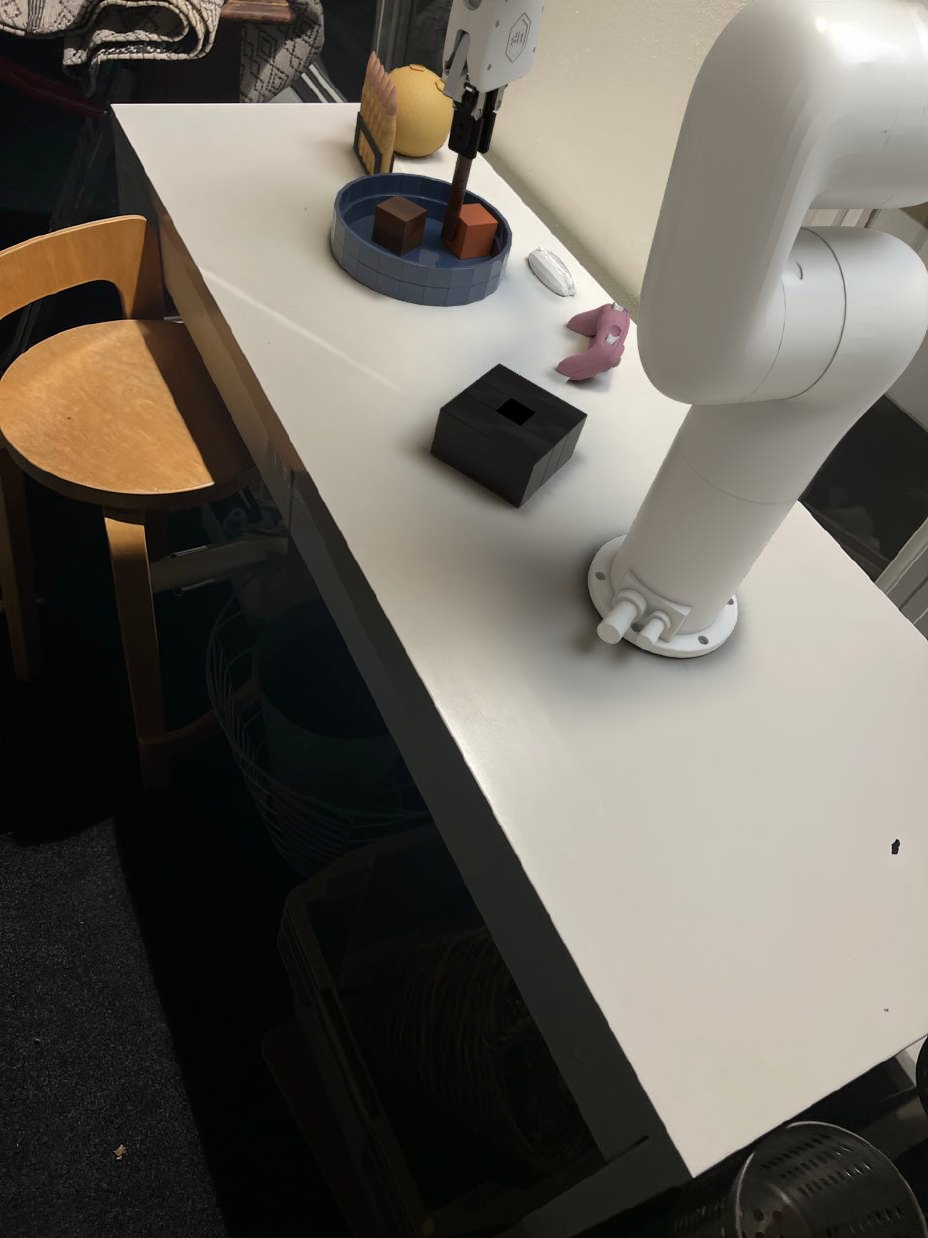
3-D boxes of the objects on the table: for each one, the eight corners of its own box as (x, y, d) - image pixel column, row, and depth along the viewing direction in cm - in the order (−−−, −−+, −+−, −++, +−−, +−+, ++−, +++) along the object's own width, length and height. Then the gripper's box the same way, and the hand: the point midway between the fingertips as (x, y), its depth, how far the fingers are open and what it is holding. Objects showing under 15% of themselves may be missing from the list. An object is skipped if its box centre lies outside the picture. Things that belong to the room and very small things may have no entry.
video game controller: (583, 402, 92) (634, 359, 87) (551, 373, 90) (601, 329, 86) (594, 349, 98) (641, 307, 94) (563, 322, 97) (610, 278, 92)
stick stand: (519, 508, 78) (534, 465, 74) (429, 452, 80) (439, 408, 76) (571, 456, 84) (588, 414, 80) (486, 406, 86) (499, 362, 82)
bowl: (438, 335, 91) (447, 291, 88) (293, 250, 96) (296, 205, 92) (532, 271, 103) (543, 230, 99) (399, 198, 107) (405, 156, 103)
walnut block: (400, 256, 98) (406, 221, 95) (371, 240, 99) (375, 204, 95) (421, 244, 100) (427, 210, 97) (392, 228, 101) (398, 193, 98)
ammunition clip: (389, 198, 107) (405, 90, 98) (374, 197, 106) (388, 89, 97) (366, 153, 113) (379, 47, 103) (352, 152, 112) (363, 46, 103)
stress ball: (445, 178, 113) (462, 93, 105) (367, 163, 111) (378, 75, 103) (444, 142, 119) (459, 59, 111) (370, 127, 117) (380, 42, 110)
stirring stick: (449, 242, 98) (482, 97, 87) (437, 236, 99) (468, 90, 88) (457, 238, 99) (490, 93, 88) (445, 231, 100) (477, 87, 89)
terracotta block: (460, 259, 100) (467, 225, 97) (442, 240, 102) (448, 205, 99) (489, 255, 102) (498, 221, 99) (471, 236, 103) (479, 202, 100)
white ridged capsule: (541, 262, 105) (548, 239, 103) (577, 302, 101) (585, 279, 99) (519, 264, 103) (525, 241, 101) (555, 304, 100) (562, 282, 97)
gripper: (500, -37, 73) (455, 188, 87) (589, -59, 82) (536, 146, 96) (424, -71, 74) (392, 155, 88) (520, -89, 84) (478, 117, 98)
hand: (467, 149), depth 92 cm, fingers closed on stirring stick
